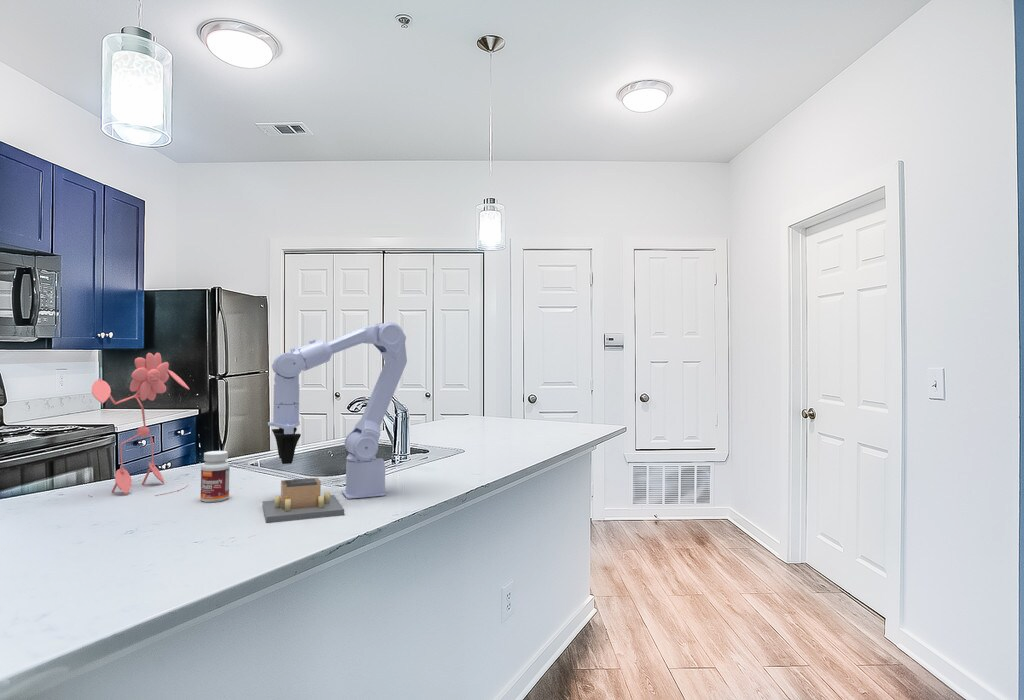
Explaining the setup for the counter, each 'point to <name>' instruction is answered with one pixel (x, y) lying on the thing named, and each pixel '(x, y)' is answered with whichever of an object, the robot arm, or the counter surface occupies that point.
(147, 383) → the figurine
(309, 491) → the tan wooden block
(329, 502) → the grey peg board
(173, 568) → the counter surface
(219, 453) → the pill bottle
